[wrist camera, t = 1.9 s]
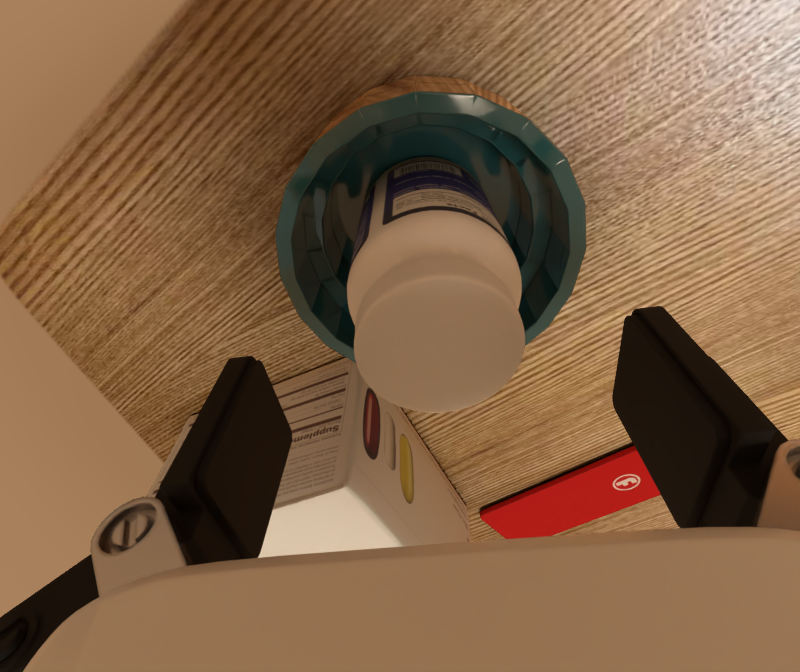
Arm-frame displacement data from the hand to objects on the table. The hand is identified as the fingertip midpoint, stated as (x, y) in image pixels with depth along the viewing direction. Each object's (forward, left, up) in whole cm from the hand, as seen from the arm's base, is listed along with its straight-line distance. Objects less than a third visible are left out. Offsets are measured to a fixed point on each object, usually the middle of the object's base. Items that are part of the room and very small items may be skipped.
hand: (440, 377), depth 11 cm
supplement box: (+18, +1, -11) cm, 22 cm away
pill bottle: (0, 0, -11) cm, 11 cm away
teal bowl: (0, 0, -11) cm, 11 cm away
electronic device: (+15, +19, -11) cm, 26 cm away
